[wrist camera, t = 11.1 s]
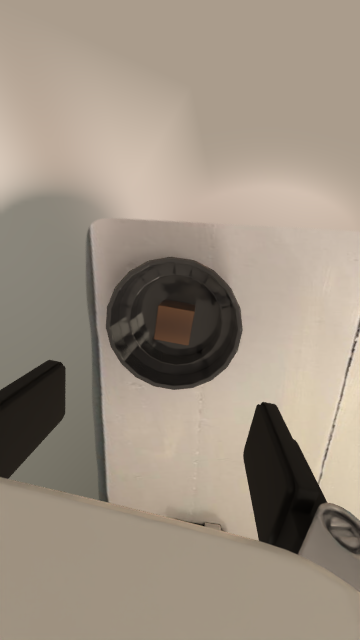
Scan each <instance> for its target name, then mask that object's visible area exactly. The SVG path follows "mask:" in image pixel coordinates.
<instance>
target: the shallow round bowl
mask: <svg viewBox="0 0 360 640" xmlns="http://www.w3.org/2000/svg"><path fill="white" fill-rule="evenodd" d="M164 300H171V301H177V302H182V303H188V304H194V305H196V307H195V312H194V318H193V323H192V329H191V334H190V340H189V345H183V344H177V343H172V342H167V341H161V340H156V339H154V334H155V327H156V319H157V312H158V305H159V304H160V303H161V302H162V301H164ZM106 329H107V333H108V337H109V341H110V345H111V348H112V349H113V351H114V352H115V354H116V356H117V357H118V359H119V361H120V362H121V364H122V365H123V366H124V367H125V368H127V369H128V370H129V371H130V372H131V373H132V374H133V375H134V376H135V377H137V378H139V379H141V380H143V381H145V382H147V383H149V384H151V385H153V386H156V387H161V388H167V389H172V390H176V389H186V388H194V387H196V386H199V385H201V384H204V383H206V382H209V381H211V380H212V379H214V378H215V377H216V376H217V375H219V374H220V373H221V372H222V371H223V370H225V369H226V368H227V367H228V365H229V363H230V362H231V360H232V359H233V357H234V355H235V354H236V352H237V351H238V347H239V343H240V339H241V334H242V320H241V310H240V307H239V304H238V302H237V300H236V298H235V296H234V294H233V292H232V289H231V288H230V287H229V286H228V284H227V283H226V282H225V281H224V280H223V279H222V278H221V277H220V276H219V275H218V274H217V273H216V272H215V271H214V270H212V269H210V268H208V267H206V266H204V265H202V264H200V263H198V262H196V261H194V260H188V259H181V258H175V257H167V258H162V259H156V260H151V261H147V262H146V263H144V264H142V265H140V266H138V267H137V268H135V269H133V270H131V271H130V272H128V274H127V275H126V276H125V277H124V278H123V279H122V280H121V282H120V283H119V284H118V285H117V286H116V287H115V289H114V292H113V294H112V297H111V299H110V301H109V304H108V306H107V319H106Z"/></svg>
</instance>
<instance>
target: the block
mask: <svg viewBox="0 0 360 640" xmlns="http://www.w3.org/2000/svg"><path fill="white" fill-rule="evenodd" d="M195 307H196V305H194V304H188V303H182V302H177V301H171V300H164V301H162V302H161V303H160V304H159V305H158V312H157V319H156V327H155V334H154V339H156V340H161V341H167V342H172V343H177V344H183V345H189V340H190V334H191V329H192V323H193V318H194V312H195Z"/></svg>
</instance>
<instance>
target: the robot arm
mask: <svg viewBox="0 0 360 640" xmlns="http://www.w3.org/2000/svg"><path fill="white" fill-rule="evenodd" d="M64 415H65V366H63V364H62V363H61V362H57V361H52V360H48V361H46V362H45V363H43V364H41V365H40V366H38V367H37V368H35V369H33V370H32V371H30V372H29V373H27V374H25V375H24V376H22V377H21V378H19V379H17V380H16V381H14V382H13V383H11V384H9V385H8V386H6V387H5V388H3V389H1V390H0V640H360V521H359V520H358V519H357V518H356V517H355V516H354V515H352V514H351V513H350V512H348V511H347V510H345V509H344V508H342V507H340V506H338V505H335V504H331V503H327V501H326V499H325V497H324V495H323V493H322V491H321V489H320V487H319V485H318V483H317V481H316V479H315V477H314V475H313V473H312V471H311V469H310V467H309V465H308V463H307V461H306V459H305V457H304V455H303V453H302V451H301V449H300V447H299V445H298V443H297V442H296V441H295V440H294V439H293V438H292V436H291V434H290V432H289V430H288V428H287V426H286V424H285V422H284V420H283V418H282V416H281V414H280V412H279V410H278V407H277V406H276V405H275V404H271V403H266V402H262V403H261V405H259V404H258V405H257V407H256V410H255V413H254V417H253V420H252V424H251V427H250V431H249V434H248V438H247V441H246V445H245V448H244V454H243V457H244V464H245V469H246V474H247V480H248V485H249V490H250V495H251V501H252V506H253V511H254V517H255V522H256V527H257V532H258V538H259V541H257V540H254V539H250V538H246V537H242V536H239V535H235V534H231V533H228V532H224V531H220V530H216V529H213V528H209V527H205V526H201V525H197V524H193V523H189V522H185V521H180V520H176V519H172V518H168V517H164V516H160V515H156V514H152V513H148V512H144V511H140V510H136V509H132V508H128V507H124V506H120V505H115V504H111V503H107V502H103V501H99V500H95V499H91V498H86V497H82V496H78V495H74V494H70V493H66V492H62V491H57V490H53V489H49V488H44V487H40V486H36V485H32V484H27V483H23V482H19V481H14V480H10V479H8V478H9V477H10V476H11V475H12V474H13V473H14V472H15V470H17V468H18V467H19V466H20V465H21V464H22V463H23V462H24V461H25V460H26V459H27V457H28V456H29V455H30V454H31V453H32V452H33V451H34V450H35V449H36V448H37V447H38V445H39V444H40V443H41V442H42V441H43V440H44V439H45V438H46V437H47V436H48V434H49V433H50V432H51V431H52V430H53V429H54V428H55V427H56V426H57V425H58V423H59V422H60V421H61V420H62V419H63V417H64Z"/></svg>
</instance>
